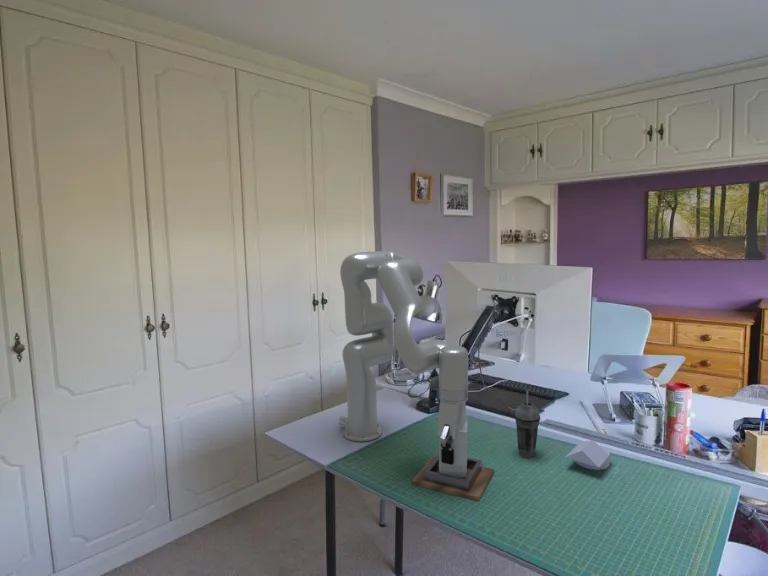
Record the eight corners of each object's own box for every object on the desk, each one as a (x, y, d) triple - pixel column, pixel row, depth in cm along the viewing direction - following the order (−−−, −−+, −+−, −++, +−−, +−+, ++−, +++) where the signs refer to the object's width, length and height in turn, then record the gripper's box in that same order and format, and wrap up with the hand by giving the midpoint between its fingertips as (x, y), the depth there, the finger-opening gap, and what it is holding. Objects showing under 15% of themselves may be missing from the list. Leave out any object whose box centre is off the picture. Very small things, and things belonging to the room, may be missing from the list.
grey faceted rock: (598, 479, 126) (613, 460, 136) (599, 455, 126) (614, 438, 135) (564, 468, 132) (581, 451, 142) (565, 445, 131) (582, 429, 141)
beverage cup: (541, 450, 143) (542, 386, 140) (537, 462, 136) (539, 394, 134) (516, 446, 146) (517, 383, 143) (511, 457, 139) (512, 391, 137)
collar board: (411, 484, 126) (411, 471, 125) (432, 459, 139) (432, 447, 139) (478, 501, 118) (478, 487, 117) (494, 472, 131) (494, 460, 130)
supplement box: (466, 478, 124) (467, 432, 122) (438, 476, 125) (438, 430, 124) (467, 464, 131) (468, 420, 129) (440, 462, 133) (440, 418, 131)
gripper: (450, 381, 135) (450, 439, 137) (427, 402, 119) (428, 467, 122) (476, 384, 131) (476, 444, 134) (456, 406, 116) (456, 474, 118)
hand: (453, 455), depth 128 cm, fingers closed on supplement box, 8 cm apart
